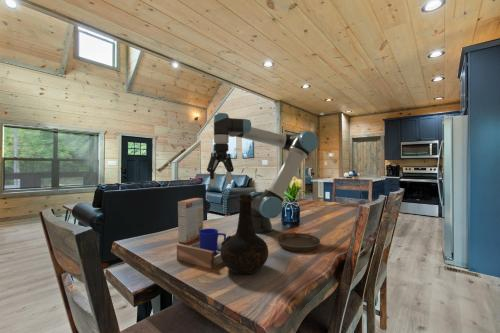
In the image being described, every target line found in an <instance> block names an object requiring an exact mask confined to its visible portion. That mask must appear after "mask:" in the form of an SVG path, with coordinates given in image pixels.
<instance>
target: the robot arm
mask: <svg viewBox="0 0 500 333" xmlns="http://www.w3.org/2000/svg"><path fill="white" fill-rule="evenodd" d="M229 137H232V138H234V137H236V138H241V139H245V140H249V141H253V142H258V143H262V144H266V145H271V146H275V147H278V148H279V149H281V150H285V151H289V153H288V155H287V157H286V159H285V160H284V162H283V164H282V166H281V167H280V168H279V171H278V173H277V174H276V176H275V178H274V179H273V181H272V183H271V185H270V187H267V188H266V189H265V190H263V191H252V192H250V193H249V194H250V195H251V199H254V200H253V201H251V206H252V219H253V226H254V231H255V234H265V233H266V234H267V233H270V232H272V231H273V225H272V222H271V219H275V218H276V217H278V216H280V215H281V213H282V212H283V202H284V201H285V198H284V195H285V193H286V191H287V189H288V188H289V186H290V184H291V182H292V180H293V178H294V177H295V175H296V173H297V172H298V170H299V168H300V166H301V164H302V163H303V161H304V160H306V159H308V157H309V156H310V154H311V152H314V151H316V150H317V148H318V146H319V140H318V136H317V135H316V133H314V132H313V131H312V130H304V131H301V132H296V133H293V134H290V133H289V134H288V133H282V134H281V133H276V132H273V131H269V130H265V129H261V128H257V127H254V126H252V122H251V119H247V118H231V117H230V116H229V114H228V113H226V112H218V113H215V114H214V116H213V143H214V144H213V151H214V152H211V153H210V158H209V162H208V165H207V167H206V168H207V169H206V171H207V172H208V173H209V179H210V180H209V182H210V185H209V186H210V187H212V186H213V187H215V186H216V185H217V183H216V182H217V181H216V180H217V177H216V176H217V172H216V171H217V170H216V169H217V168H218V166H219V164H220V163H223V165H224V167H225V170H226V172H225V184H226V185H232V173H233V172H234V171H235V170H234V169H235V168H234V165H233V161H232V158H231V157H232V156H231V153H228V152H229V140H230V139H229Z"/></svg>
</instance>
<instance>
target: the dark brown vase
mask: <svg viewBox="0 0 500 333" xmlns="http://www.w3.org/2000/svg"><path fill="white" fill-rule="evenodd" d="M238 195H239V198H237V199H236V200H237V201H239V208H238V209H239V211H238V212H239V213H238V221H237V228H236V232H235V234H233V235H228V236H226V238H225V240H224V239H223V241H222V242H221V244H220V245H221V247H220V249H221V251H220V253H221V258H222V260H223V262H222V263H223V264H224V265H225V266H226V267H227V269H229V270H230V271H231V272H234V273H236V274H240V275H247V274H252V273H255V272H257V271H259V270H260V269H261V268H262V267H263V266H264V265H265V264H266V263H267V260H268V257H269V246H268V245H267V243H266V241H265V240H264V239H263V238H261V237H260V236H258V235H257V233H255V231H254V226H253V219H252V206H251V201H253V200H254V199H251V195H250V193H248V194H247V193H241V194H240V193H239V194H238Z"/></svg>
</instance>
